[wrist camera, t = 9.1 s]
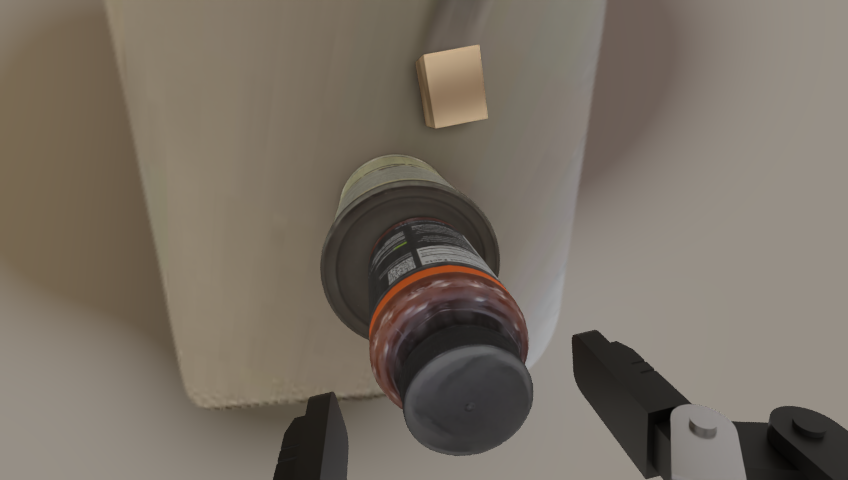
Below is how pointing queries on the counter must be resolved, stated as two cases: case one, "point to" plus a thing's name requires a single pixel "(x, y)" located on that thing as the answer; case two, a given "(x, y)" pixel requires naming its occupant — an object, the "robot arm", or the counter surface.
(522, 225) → the counter surface
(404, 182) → the coffee can
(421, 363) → the supplement bottle
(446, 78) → the tan metallic cube
